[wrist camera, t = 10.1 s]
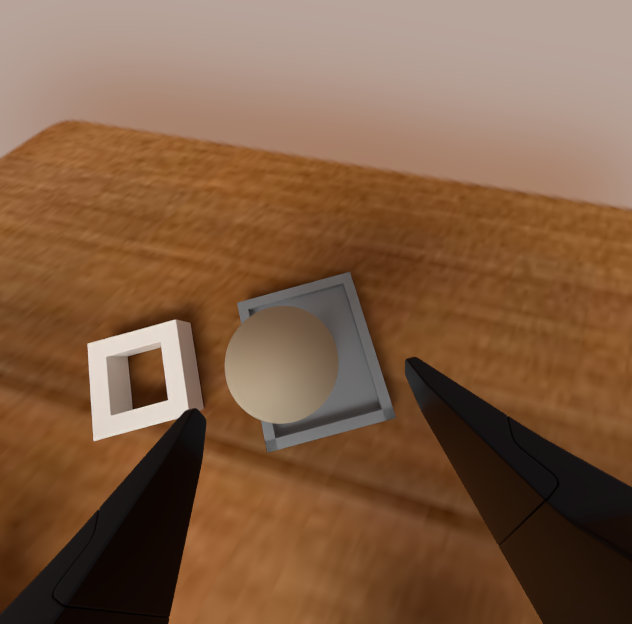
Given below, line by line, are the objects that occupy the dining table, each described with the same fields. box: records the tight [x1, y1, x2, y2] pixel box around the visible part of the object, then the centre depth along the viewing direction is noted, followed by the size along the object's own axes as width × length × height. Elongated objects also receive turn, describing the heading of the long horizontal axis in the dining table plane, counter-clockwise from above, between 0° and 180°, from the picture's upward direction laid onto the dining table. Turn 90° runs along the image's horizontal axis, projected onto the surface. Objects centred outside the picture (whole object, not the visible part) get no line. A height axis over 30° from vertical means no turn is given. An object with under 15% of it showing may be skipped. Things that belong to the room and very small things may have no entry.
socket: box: [88, 320, 204, 441], centre depth 19 cm, size 8×8×2 cm
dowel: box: [225, 306, 339, 424], centre depth 13 cm, size 4×4×12 cm
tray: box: [237, 272, 396, 452], centre depth 19 cm, size 12×10×2 cm
